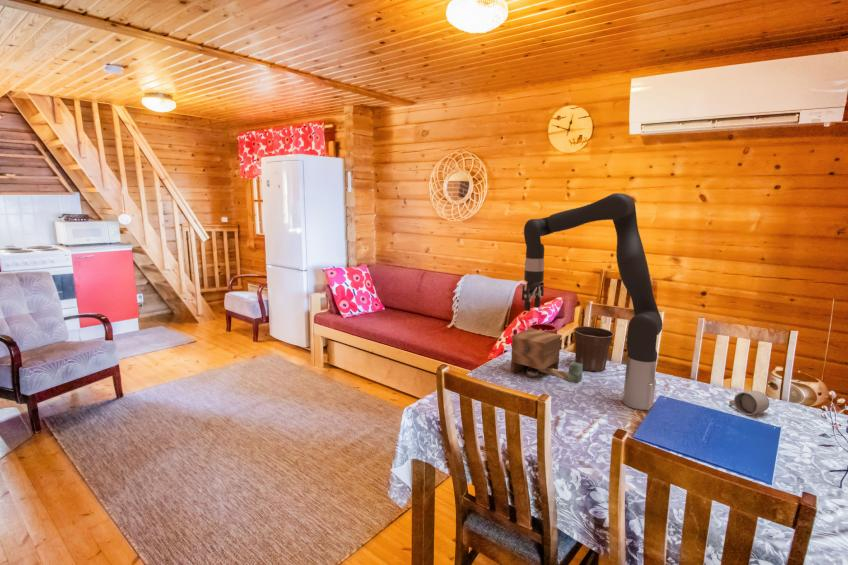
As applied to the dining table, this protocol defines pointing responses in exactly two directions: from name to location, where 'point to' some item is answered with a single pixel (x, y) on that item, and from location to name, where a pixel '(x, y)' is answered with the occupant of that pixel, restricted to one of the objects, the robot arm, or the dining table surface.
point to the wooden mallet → (572, 375)
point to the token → (532, 373)
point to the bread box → (535, 350)
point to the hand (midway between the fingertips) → (532, 309)
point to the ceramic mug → (750, 402)
